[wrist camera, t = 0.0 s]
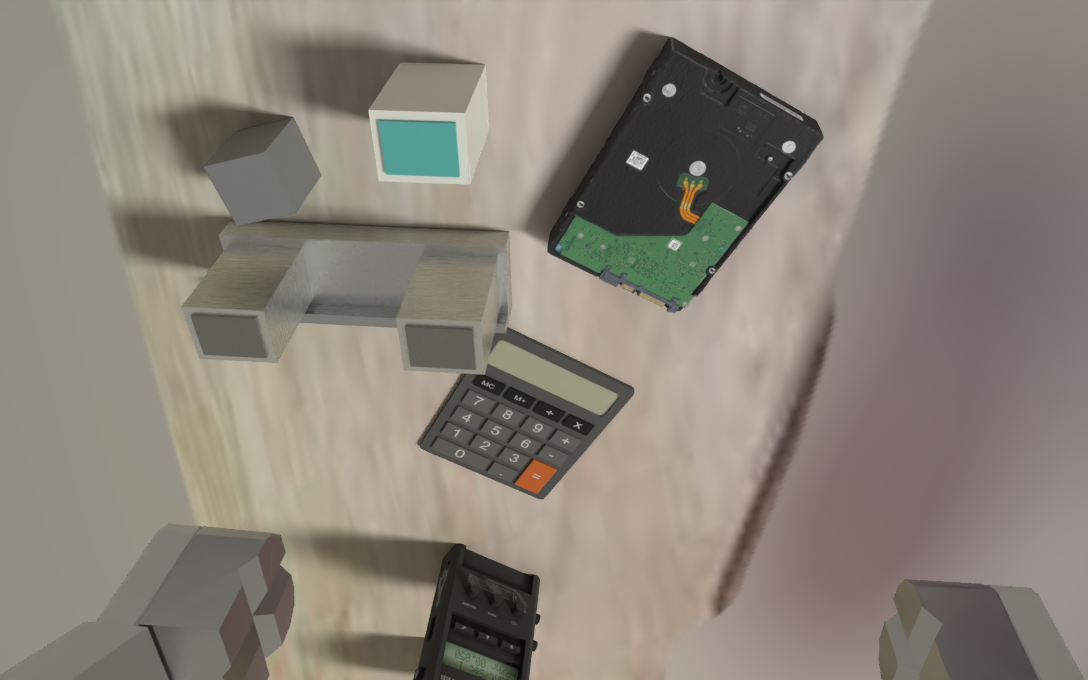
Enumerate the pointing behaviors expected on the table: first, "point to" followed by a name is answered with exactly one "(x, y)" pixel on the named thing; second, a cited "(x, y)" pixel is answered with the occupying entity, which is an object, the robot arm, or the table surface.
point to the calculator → (525, 415)
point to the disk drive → (682, 178)
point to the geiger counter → (480, 621)
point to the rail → (355, 290)
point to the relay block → (263, 172)
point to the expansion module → (430, 123)
